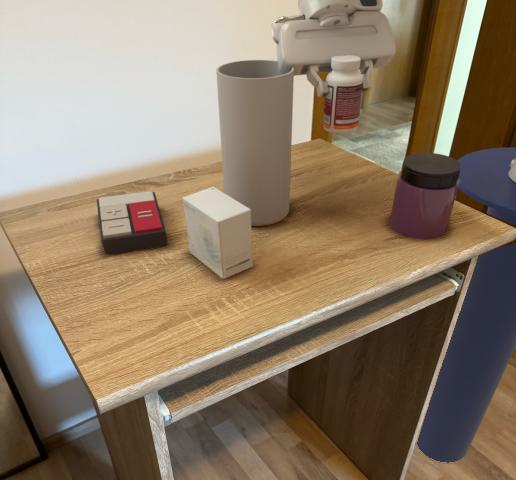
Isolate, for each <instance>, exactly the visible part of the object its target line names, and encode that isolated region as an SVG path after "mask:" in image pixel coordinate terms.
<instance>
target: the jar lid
mask: <svg viewBox="0 0 516 480" xmlns="http://www.w3.org/2000/svg"><path fill="white" fill-rule="evenodd" d="M457 160H458V159H456V158H454V157H453V156H449V155H445V154H442V153H435V152H417V153H412V154H409V155H407V156H405V157H404V158H403V161H402V165H401V169H400V171H401V177H402V178H403V179H404V180H405V181H407V182H408V183H411V184H413V185H416V186H420V187H426V188H444V187H449V186H452V185H454V184H455V183H456V182H457V180H458V178H459V174H460V169H461V164H460V163H459V162H458V161H457Z"/></svg>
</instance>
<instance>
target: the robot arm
mask: <svg viewBox="0 0 516 480" xmlns="http://www.w3.org/2000/svg"><path fill="white" fill-rule="evenodd" d="M383 3H384V2H383V0H297V6H298V10H299V15H292V16H279V17H278V18H277V19H276V20H274V21H273V22H272V23H271V25H270V32H271V36H272V40H273V42H274V43H275V44H276V61H278V68H279V71H280V72H281V73H282V74H283V75H284V74H287V73H289V72H290V70H291V67H294V77H295V76H306V80H307V81H308V82H309V83H310V84H311V86H312V87H313V88H314V89H315V91H316V94H317V97H318V98H325V97H326V96H327V94H329V87H328V82H327V81H326V80H325V81H323V80H322V78H321V76H319V74H327V73H328V74H329V73H330V72H332V68H331V60H332V57H334V56H345V55H353V56H358V57H360V58H361V61H360V68H359V69H358V71H359V72H360V73H361V74H362V75H363V86H362V94H363V93H365V94H366V93H369V92H370V90H371V88H372V84H371V75H372V72H373V69H379V68H386V67H387V66H388V65H389V64H390V62H391V61H392V60H393V58H394V56H395V55H396V51H397V45H396V41H395V37H394V32H393V30H392V26H391V23H390V21H389V18H388V17H387V16H386V14H384V13H383V12H382V9H383V5H384V4H383ZM510 167H511V169H510V171H509V173H508V175H509V177H510V178H511V179H512V180H513V181H514V182H516V158H515V159H514V160H512V161H511V164H510Z"/></svg>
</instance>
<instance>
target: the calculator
mask: <svg viewBox="0 0 516 480" xmlns="http://www.w3.org/2000/svg"><path fill="white" fill-rule="evenodd" d="M96 206H97V216H98V225H99V234H100V242H101V245H102V249H103V253H104V254H105V255H112V254H118V253H125V252H131V251H137V250H145V249H151V248H152V249H153V248H158V247H165V246H167V245H168V237H167V230H166V227H165V226H166V225H165V223H164V219H163V216H162V213H161V208H160V206H159V203H158V199H157V195H156V192H155V191H152V190H150V191H140V192H134V193H133V192H132V193H125V194H117V195H110V196H102V197H98V198H97V199H96Z"/></svg>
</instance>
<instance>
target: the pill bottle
mask: <svg viewBox="0 0 516 480" xmlns="http://www.w3.org/2000/svg"><path fill="white" fill-rule="evenodd" d="M360 61H361V58H360V57H358V56H353V55H345V56H334V57H332V60H331V68H332V72H328V74H327V75H326V77H325V81H327V82H328V87H329V94H327V96H326V97H324V100H323V101H324V103H323V117H322V127H323V129H324V131H326V132H328V133H330V134H339V135H346V134H351V133H354V132H356V131H357V130H358V128H359V124H360V116H361V115H360V114H361V105H362V104H361V103H362V94H363V93H362V86H363V77H364V75H363V74H361V72H360V71H359V70H360V69H359V68H360ZM358 69H359V70H358Z"/></svg>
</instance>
